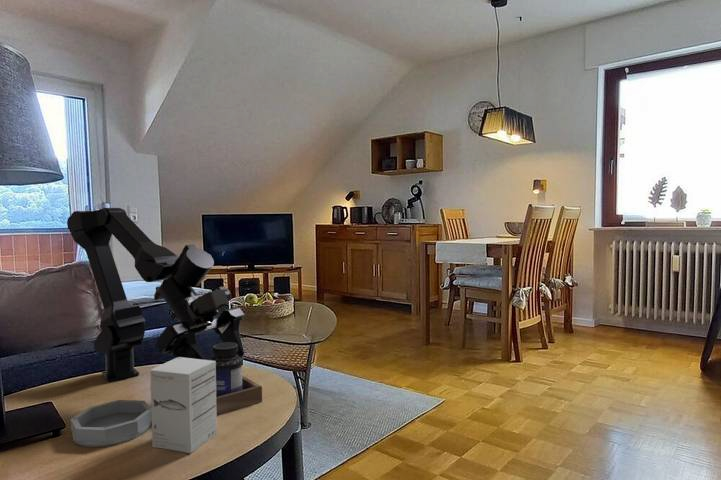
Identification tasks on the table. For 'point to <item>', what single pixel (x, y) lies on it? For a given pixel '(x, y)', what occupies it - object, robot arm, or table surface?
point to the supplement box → (183, 404)
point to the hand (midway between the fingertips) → (226, 362)
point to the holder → (240, 397)
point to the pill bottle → (227, 368)
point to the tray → (111, 423)
